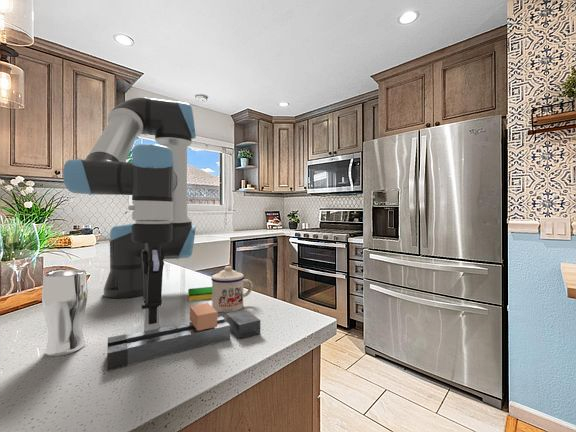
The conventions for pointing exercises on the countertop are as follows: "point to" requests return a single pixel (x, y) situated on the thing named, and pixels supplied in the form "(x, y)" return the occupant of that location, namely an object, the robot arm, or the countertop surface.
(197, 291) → the dish sponge
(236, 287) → the teacup with lid
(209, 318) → the peach rectangular block
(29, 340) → the countertop surface
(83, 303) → the beer glass
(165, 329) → the tong arm
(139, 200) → the robot arm
